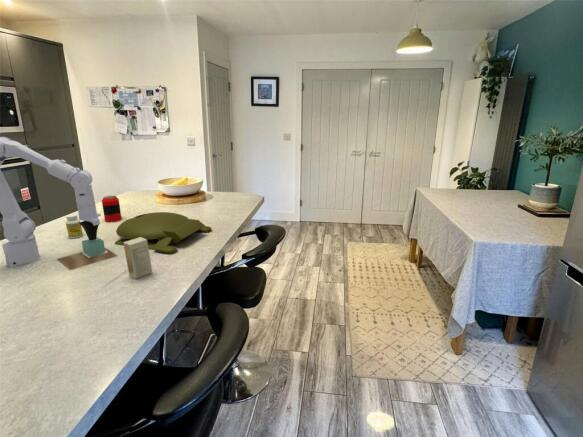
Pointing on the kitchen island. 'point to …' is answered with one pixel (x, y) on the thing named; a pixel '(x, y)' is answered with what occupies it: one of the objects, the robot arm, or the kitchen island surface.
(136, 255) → the skincare box
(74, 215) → the supplement bottle
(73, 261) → the board
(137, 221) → the green turtle
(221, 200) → the kitchen island surface
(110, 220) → the soda can
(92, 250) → the knob
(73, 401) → the kitchen island surface
